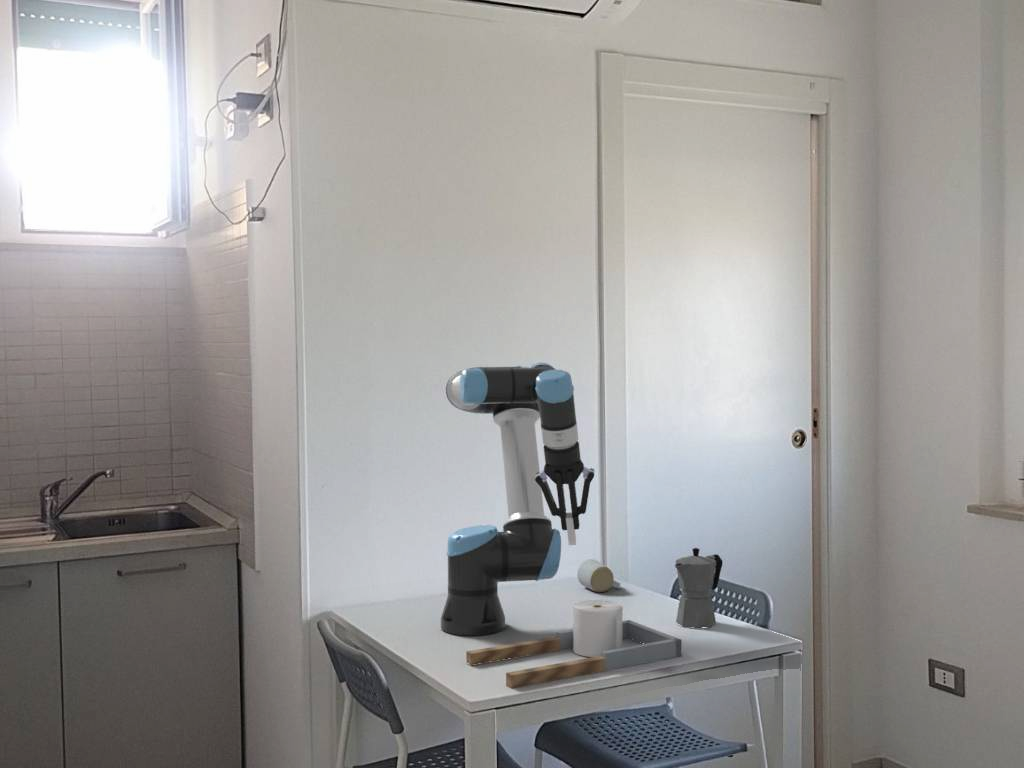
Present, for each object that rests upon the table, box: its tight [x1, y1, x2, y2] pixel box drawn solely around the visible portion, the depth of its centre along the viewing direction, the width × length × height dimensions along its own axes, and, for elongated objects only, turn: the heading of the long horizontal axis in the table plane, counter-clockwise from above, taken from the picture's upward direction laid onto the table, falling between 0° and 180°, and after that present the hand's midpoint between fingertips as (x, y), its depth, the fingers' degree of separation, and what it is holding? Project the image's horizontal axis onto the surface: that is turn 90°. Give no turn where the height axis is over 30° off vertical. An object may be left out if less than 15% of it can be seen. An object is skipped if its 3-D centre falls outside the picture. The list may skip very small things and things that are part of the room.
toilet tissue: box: [572, 599, 624, 658], centre depth 239 cm, size 11×12×10 cm
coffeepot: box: [674, 547, 723, 628], centre depth 261 cm, size 15×9×18 cm, turn 127°
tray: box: [555, 619, 682, 671], centre depth 238 cm, size 20×19×4 cm
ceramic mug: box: [576, 558, 621, 593], centre depth 297 cm, size 11×8×8 cm
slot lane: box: [465, 636, 606, 689], centre depth 228 cm, size 22×19×2 cm
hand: (572, 542), depth 241 cm, fingers closed
